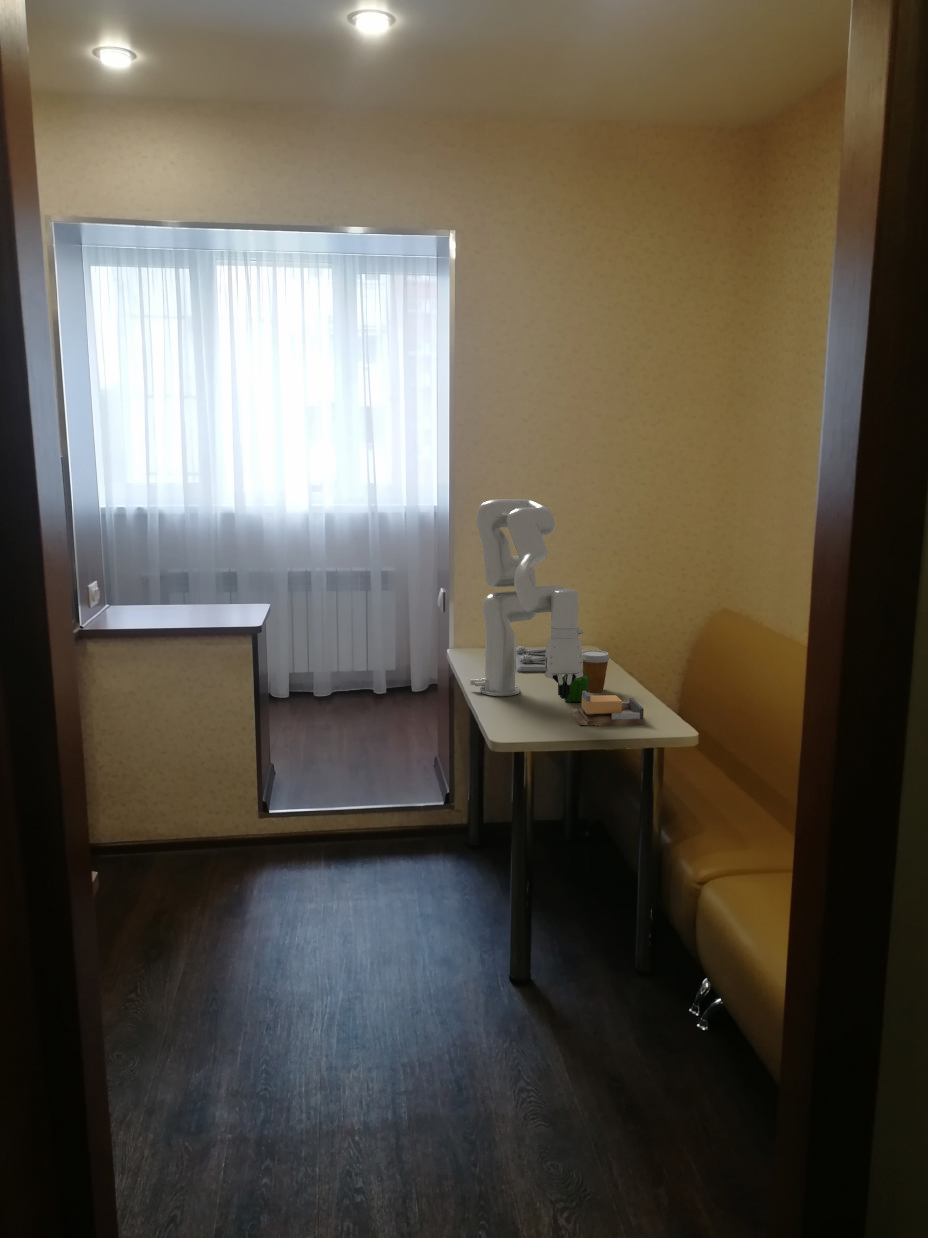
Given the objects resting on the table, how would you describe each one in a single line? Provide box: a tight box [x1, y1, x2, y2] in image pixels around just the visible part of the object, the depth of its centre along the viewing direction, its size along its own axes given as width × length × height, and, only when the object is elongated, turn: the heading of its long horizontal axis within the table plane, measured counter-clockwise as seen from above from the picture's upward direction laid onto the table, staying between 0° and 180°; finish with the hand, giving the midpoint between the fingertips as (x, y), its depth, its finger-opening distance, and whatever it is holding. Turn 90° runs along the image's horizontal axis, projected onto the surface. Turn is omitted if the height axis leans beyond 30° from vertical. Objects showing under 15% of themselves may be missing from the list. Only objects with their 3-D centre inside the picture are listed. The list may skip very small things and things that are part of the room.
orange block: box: [581, 691, 623, 717], centre depth 265 cm, size 10×6×6 cm, turn 96°
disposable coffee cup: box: [582, 649, 610, 693], centre depth 296 cm, size 10×10×12 cm
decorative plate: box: [515, 645, 546, 673], centre depth 333 cm, size 30×22×7 cm
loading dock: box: [570, 697, 645, 727], centre depth 265 cm, size 18×12×4 cm, turn 96°
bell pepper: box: [562, 670, 589, 703], centre depth 284 cm, size 8×8×10 cm
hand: (563, 697), depth 262 cm, fingers closed
